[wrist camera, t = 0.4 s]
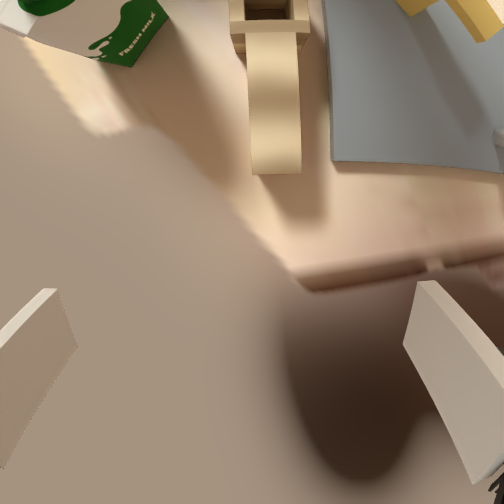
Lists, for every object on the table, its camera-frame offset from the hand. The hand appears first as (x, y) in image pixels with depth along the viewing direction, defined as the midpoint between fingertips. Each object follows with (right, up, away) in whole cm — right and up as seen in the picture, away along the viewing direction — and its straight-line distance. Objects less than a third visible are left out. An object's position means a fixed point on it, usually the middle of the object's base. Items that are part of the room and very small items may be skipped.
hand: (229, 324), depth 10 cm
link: (+2, +20, +18) cm, 27 cm away
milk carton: (-13, +27, +15) cm, 33 cm away
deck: (+22, +22, +16) cm, 35 cm away
